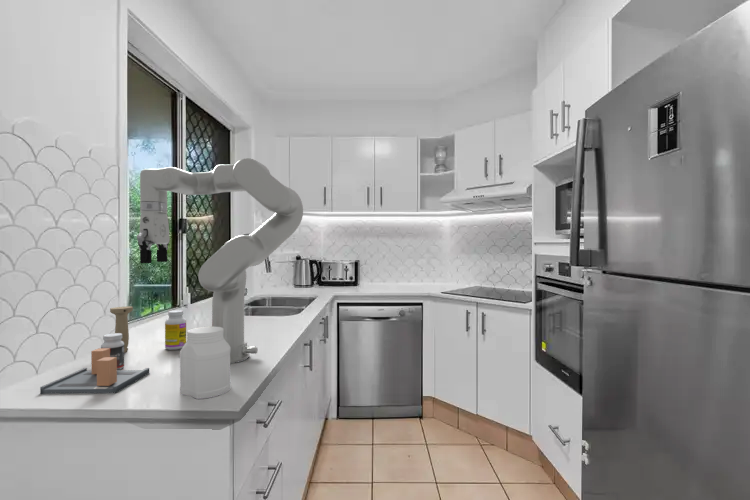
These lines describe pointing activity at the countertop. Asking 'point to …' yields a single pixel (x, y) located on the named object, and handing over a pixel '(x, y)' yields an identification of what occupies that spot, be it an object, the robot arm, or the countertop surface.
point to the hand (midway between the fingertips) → (154, 262)
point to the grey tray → (92, 382)
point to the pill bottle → (115, 347)
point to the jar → (205, 363)
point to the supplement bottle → (175, 330)
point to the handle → (122, 323)
